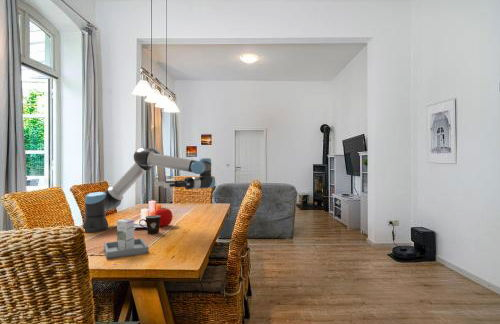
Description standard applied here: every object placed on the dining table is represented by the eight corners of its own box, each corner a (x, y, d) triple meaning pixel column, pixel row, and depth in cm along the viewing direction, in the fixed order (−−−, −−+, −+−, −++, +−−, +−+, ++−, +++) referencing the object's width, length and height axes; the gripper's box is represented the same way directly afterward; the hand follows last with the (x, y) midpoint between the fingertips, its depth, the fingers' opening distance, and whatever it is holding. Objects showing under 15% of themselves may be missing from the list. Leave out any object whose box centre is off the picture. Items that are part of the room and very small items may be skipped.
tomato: (156, 224, 209) (156, 206, 208) (173, 224, 210) (173, 206, 210) (152, 228, 196) (152, 209, 196) (170, 228, 198) (170, 208, 197)
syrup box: (134, 248, 150) (134, 219, 150) (126, 251, 144) (125, 221, 144) (125, 247, 152) (125, 218, 152) (116, 250, 146) (116, 220, 146)
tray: (103, 248, 151) (103, 242, 151) (141, 243, 160) (141, 238, 160) (106, 259, 136) (106, 252, 136) (148, 252, 145) (148, 246, 145)
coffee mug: (162, 231, 188) (162, 215, 188) (157, 234, 180) (157, 218, 180) (144, 231, 189) (144, 215, 189) (138, 234, 181) (138, 217, 181)
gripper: (201, 190, 180) (167, 193, 167) (183, 187, 200) (151, 189, 187) (201, 178, 180) (167, 179, 167) (183, 176, 200) (151, 177, 187)
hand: (159, 184), depth 177 cm, fingers open, 13 cm apart
